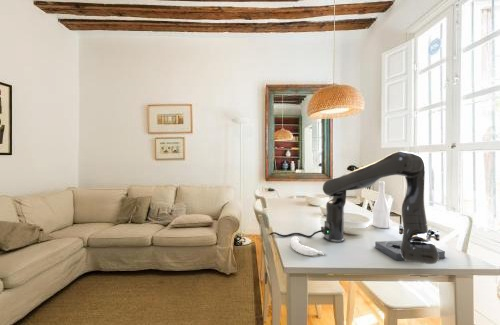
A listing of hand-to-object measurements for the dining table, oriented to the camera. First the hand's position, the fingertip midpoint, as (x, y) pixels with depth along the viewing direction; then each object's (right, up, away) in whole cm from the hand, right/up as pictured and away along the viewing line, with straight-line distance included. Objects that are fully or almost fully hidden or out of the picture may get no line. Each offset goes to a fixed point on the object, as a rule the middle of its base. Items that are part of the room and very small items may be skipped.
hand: (418, 228), depth 103 cm
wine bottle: (+9, -12, +45) cm, 47 cm away
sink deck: (-2, -13, +4) cm, 14 cm away
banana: (-50, -13, +8) cm, 52 cm away
